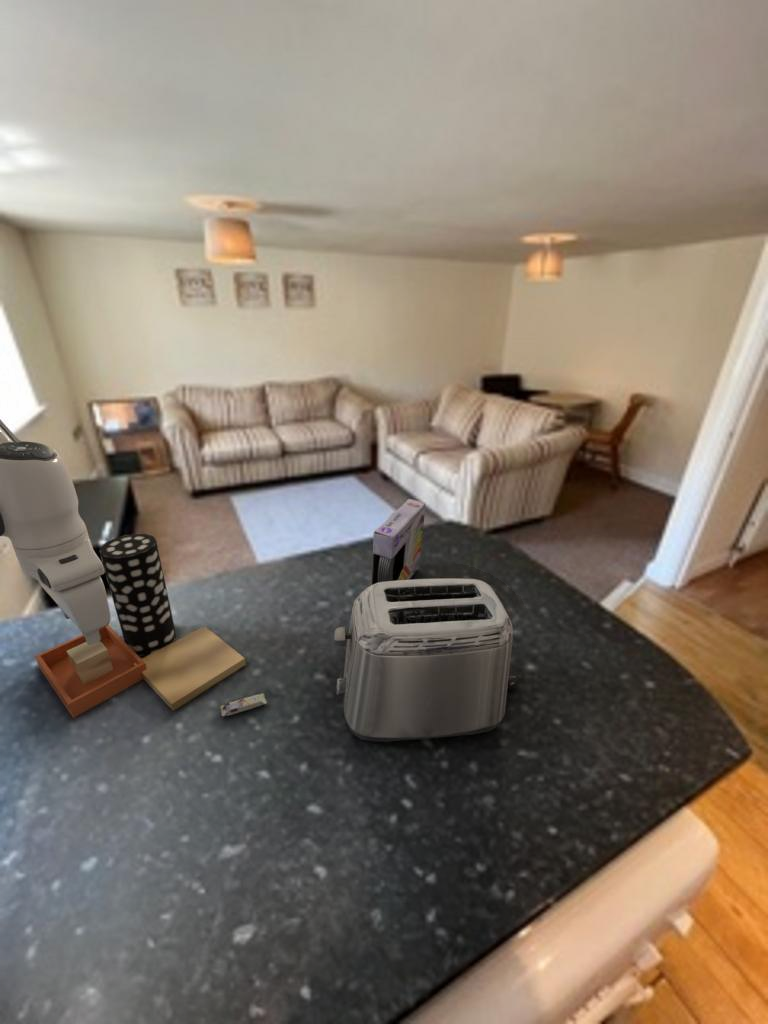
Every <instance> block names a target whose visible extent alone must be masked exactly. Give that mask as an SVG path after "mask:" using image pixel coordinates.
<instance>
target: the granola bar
mask: <svg viewBox="0 0 768 1024" xmlns="http://www.w3.org/2000/svg"><path fill="white" fill-rule="evenodd" d="M266 704H268V701H267V699H266V696H265V693H264V692H262V693H260V694H259V693H257V694H255V695H251V696H247V697H244V698H240V699H238V700H235V701H231V702H228V703H225V704H222V705H220V706H219V707H220V711H221V717H228V716H229V717H230V716H232V715H235V714H239V713H242V712H245V711H249V710H252V709H255V708H258V707H261V706H262V705H266Z"/></svg>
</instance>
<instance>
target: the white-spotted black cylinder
mask: <svg viewBox="0 0 768 1024" xmlns="http://www.w3.org/2000/svg"><path fill="white" fill-rule="evenodd" d="M158 546H159V545H158V542H157V538H156V537H155V536H153V535H152V534H148V533H130V534H124V535H121V536H118V537H114V538H112V539H110V540H108V541H106V542H104V544H103V545H101V547H100V548H99V554H100V558H101V562H102V564H103V567H104V574H105V576H106V580H107V583H108V584H107V585H108V587H109V591H110V593H111V598H112V601H113V606H114V609H115V614H116V615H117V620H118V624H119V628H120V631H121V635H122V639H123V640H124V641H125V643H126V644H127V645H128V646H129V647H130V648H131V649H132V650H133V651H134V652H135V653H136V654H137V655H138V656H139V657H140V656H141V657H143V656H144V657H146V656H148V655H150V654H152V653H154V652H156V651H157V650H159V649H161V648H163V647H165V646H167V645H169V644H171V643H173V642H175V641H176V637H177V631H176V627H175V621H174V617H173V612H172V607H171V604H170V599H169V594H168V589H167V585H166V579H165V576H164V570H163V566H162V561H161V556H160V552H159V547H158Z"/></svg>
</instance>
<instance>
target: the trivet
mask: <svg viewBox="0 0 768 1024" xmlns="http://www.w3.org/2000/svg"><path fill="white" fill-rule="evenodd" d="M141 659H142V660H143V661H144V662H145V663H146V667H147V669H146V670H145V671H143V672H142V676H143V679H142V680H144V681H145V683H147V685H148V686H149V687H150V688H151V689H152V690H153V691H154V692H155V693H156V694H157V696H158V697H159V698H160V699H161V700H162V701H164V703H165V704H166V705H167V707H169V708H170V709H171V711H173V712H174V711H176V710H177V709H179V708H181V707H182V706H183V705H185V704H187V703H188V702H190V701H191V700H193V699H194V698H196V697H198V696H199V695H201V694H202V693H204V692H206V691H207V690H208V689H210V688H211V687H213V686H215V685H216V684H218V683H219V682H221V681H223V680H224V679H226V678H228V677H229V676H230V675H232V674H234V673H235V672H237V671H238V670H240V669H242V668H243V667H245V666H246V664H247V663H246V658H245V657H244V656H243V655H242V654H241V653H239V652H238V651H236V649H234V648H233V647H231V646H230V645H229V644H228V643H226V642H225V641H224V640H223V639H221V638H220V637H219V636H218V635H217V634H215V633H214V632H213V631H211V630H210V629H209V628H208V627H206V626H205V625H203V626H201V627H200V628H198V629H196V630H195V629H194V631H192V632H190V633H188V634H186V635H184V636H182V637H179V639H175V640H174V641H173V642H172V643H171V644H169V645H167V646H165V647H163V648H161V649H159V650H157V651H156V652H154V653H152V654H150V655H145V656H144V657H142V658H141ZM133 664H134V667H135V666H136V665H137V664H136V663H133Z"/></svg>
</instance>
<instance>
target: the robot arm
mask: <svg viewBox="0 0 768 1024" xmlns="http://www.w3.org/2000/svg"><path fill="white" fill-rule="evenodd" d="M0 537H6V538H8V539H9V541H10V543H11V545H12V549H13V551H14V553H15V556H16V558H17V559H16V560H17V562H18V564H19V567H20V570H21V572H22V573H23V575H24V576H26V577H28V578H32V579H34V580H36V581H37V582H38V583H39V585H40V586H41V588H43V590H44V591H45V592H46V593H47V594H48V595H49V597H50V598H51V599H52V600H53V601H54V602H55V604H56V605H57V606H58V608H59V609H60V612H61V614H62V616H63V617H64V618H65V619H66V620H70V621H71V622H72V623H73V624H74V626H76V627H77V629H78V630H79V631H80V632H81V635H83V637H84V640H85V641H86V642H87V644H88V645H92V644H94V643H97V642H99V641H100V640H101V637H100V634H99V629H101V628H103V627H105V626H107V625H110V622H111V617H112V616H111V609H110V605H109V599H108V596H107V591H106V588H105V584H104V581H103V579H102V577H101V576H102V575H104V574H105V569H104V566H103V562H102V560H101V559H100V557H99V555H98V554H97V553H96V551H95V550H94V546H93V543H92V540H91V538H90V535H89V532H88V528H87V525H86V523H85V521H84V520H83V518H82V517H81V514H80V513H79V498H78V494H77V492H76V488H75V485H74V481H73V480H72V477H71V474H70V472H69V469H68V467H67V465H66V463H65V461H64V460H63V458H62V456H61V455H60V454H59V453H58V452H57V451H56V449H54V448H53V447H51V446H49V445H46V444H43V443H40V442H35V441H25V440H24V441H23V440H21V439H19V438H18V437H17V436H16V435H15V434H14V433H13V431H12V430H11V429H10V428H9V427H7V425H6V424H5V423H4V421H2V420H1V419H0Z"/></svg>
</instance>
